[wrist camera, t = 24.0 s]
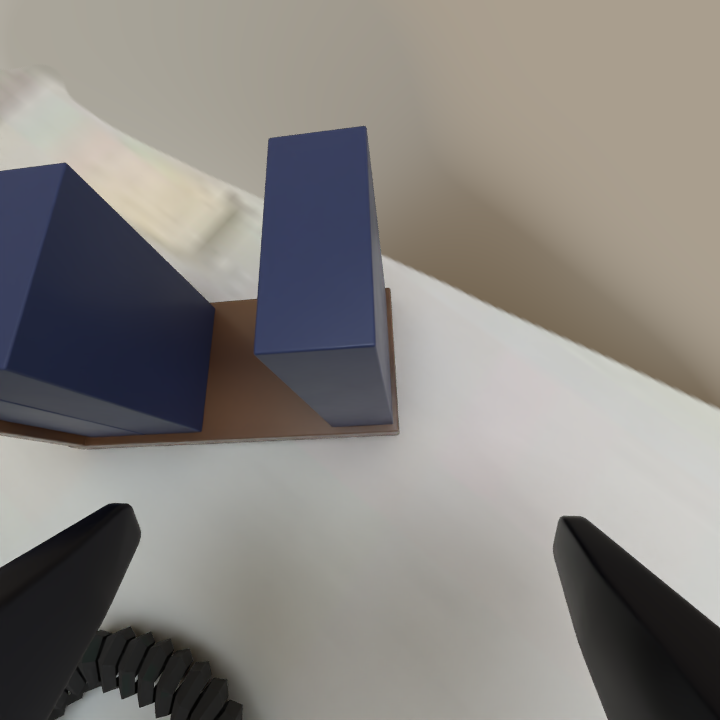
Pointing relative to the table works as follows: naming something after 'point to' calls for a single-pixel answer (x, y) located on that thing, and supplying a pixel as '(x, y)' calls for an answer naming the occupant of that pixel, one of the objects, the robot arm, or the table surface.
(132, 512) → the robot arm
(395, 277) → the table surface
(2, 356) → the navy books
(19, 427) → the book rack
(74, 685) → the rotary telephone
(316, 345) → the navy book
